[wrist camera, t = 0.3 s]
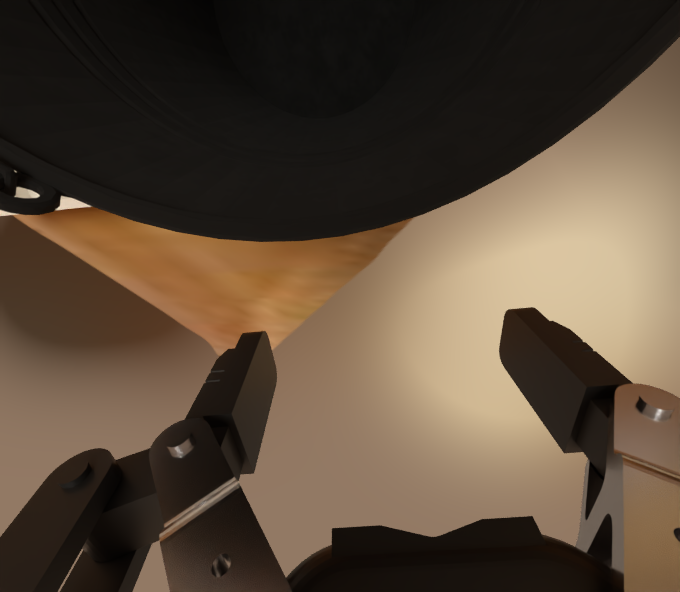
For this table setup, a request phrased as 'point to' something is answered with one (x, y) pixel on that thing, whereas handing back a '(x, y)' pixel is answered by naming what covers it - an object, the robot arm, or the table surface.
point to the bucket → (299, 103)
